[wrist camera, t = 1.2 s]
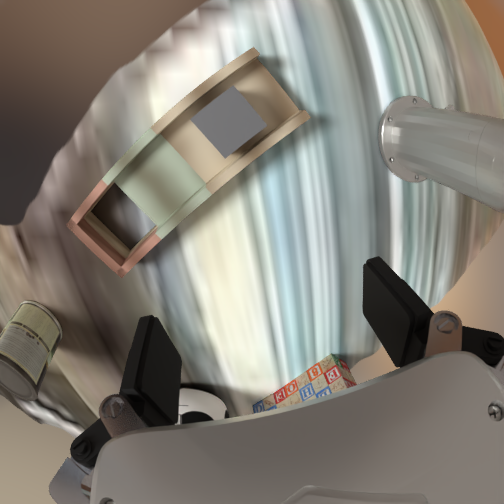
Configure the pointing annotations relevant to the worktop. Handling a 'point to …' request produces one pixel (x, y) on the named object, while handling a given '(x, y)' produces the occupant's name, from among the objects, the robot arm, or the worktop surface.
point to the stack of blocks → (310, 385)
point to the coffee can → (28, 349)
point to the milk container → (199, 406)
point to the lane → (185, 160)
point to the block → (228, 121)
